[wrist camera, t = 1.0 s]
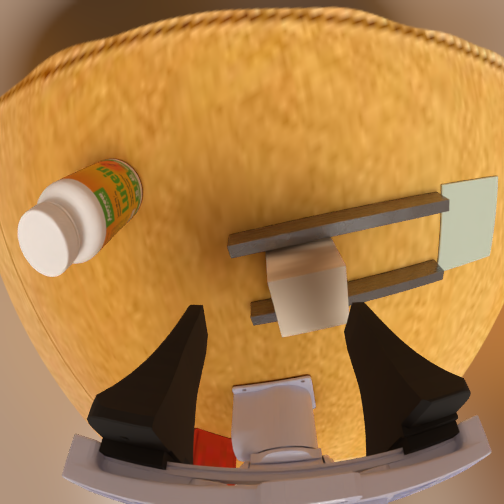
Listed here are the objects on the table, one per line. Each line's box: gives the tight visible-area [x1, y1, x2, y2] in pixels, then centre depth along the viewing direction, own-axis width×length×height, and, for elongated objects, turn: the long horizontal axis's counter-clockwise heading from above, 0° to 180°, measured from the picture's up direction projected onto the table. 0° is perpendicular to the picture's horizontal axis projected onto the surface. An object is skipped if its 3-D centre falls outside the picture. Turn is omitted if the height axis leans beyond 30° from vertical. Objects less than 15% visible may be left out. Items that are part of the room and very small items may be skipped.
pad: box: [437, 176, 498, 271], centre depth 21 cm, size 8×9×1 cm
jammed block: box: [266, 237, 349, 337], centre depth 21 cm, size 5×5×5 cm
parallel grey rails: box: [227, 192, 450, 325], centre depth 22 cm, size 18×8×2 cm, turn 104°
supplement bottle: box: [18, 159, 142, 277], centre depth 16 cm, size 5×5×10 cm
